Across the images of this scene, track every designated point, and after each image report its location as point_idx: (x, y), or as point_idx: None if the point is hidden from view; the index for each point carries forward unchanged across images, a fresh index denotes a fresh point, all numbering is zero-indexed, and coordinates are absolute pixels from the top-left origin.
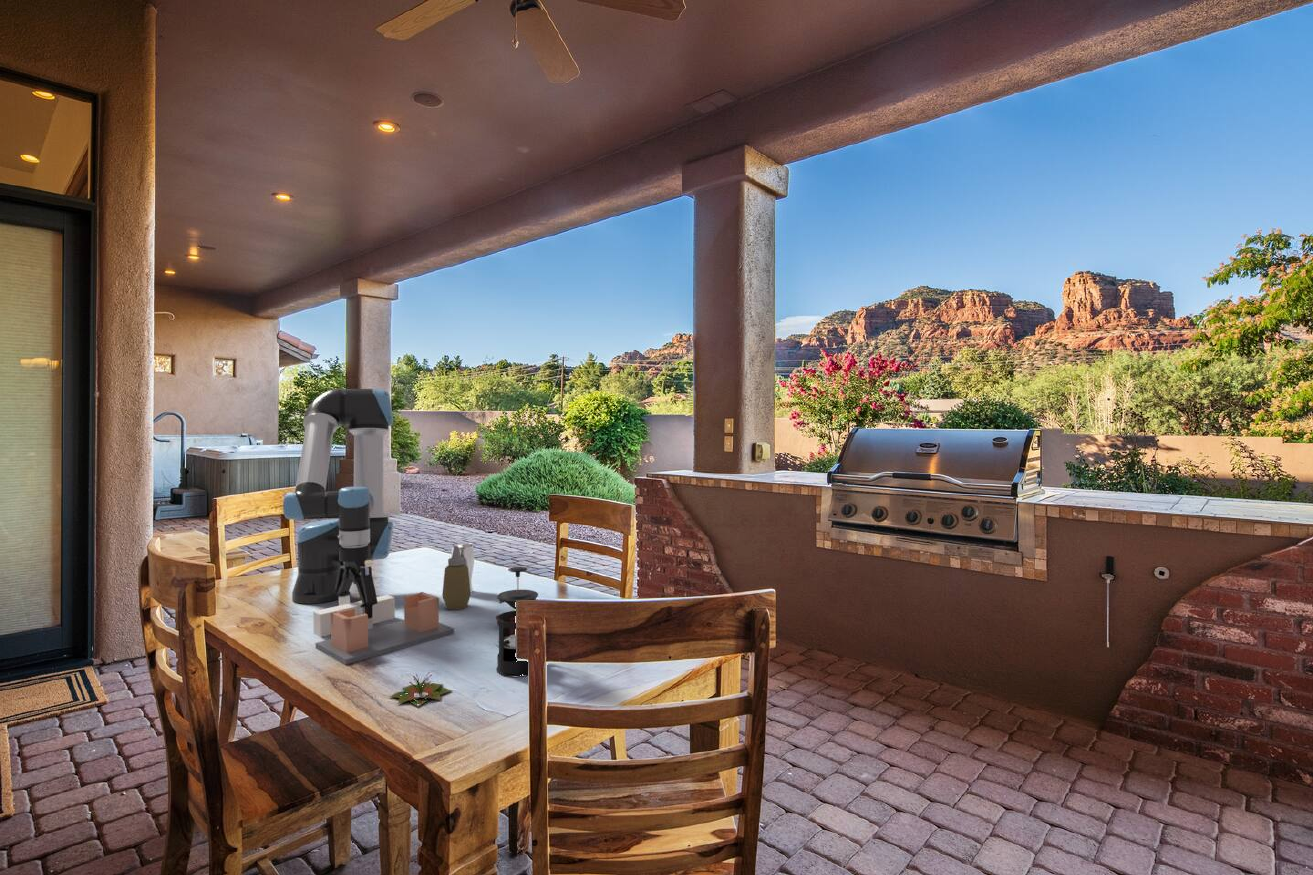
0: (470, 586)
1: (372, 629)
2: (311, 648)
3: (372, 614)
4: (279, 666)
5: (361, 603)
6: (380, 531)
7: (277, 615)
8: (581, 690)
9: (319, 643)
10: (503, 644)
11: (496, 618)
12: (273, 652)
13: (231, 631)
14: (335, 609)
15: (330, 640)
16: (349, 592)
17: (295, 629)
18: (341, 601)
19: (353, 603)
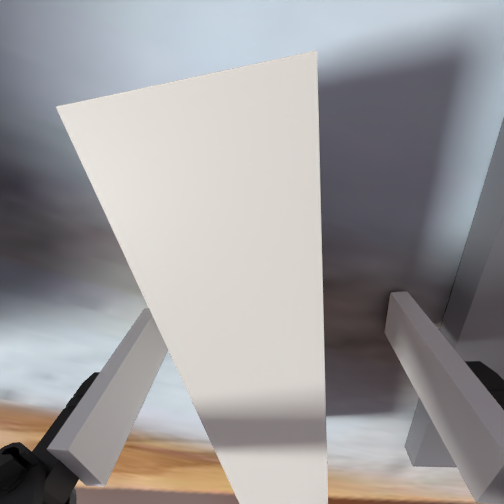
0: None
1: (483, 326)
2: (398, 450)
3: (464, 363)
4: (454, 501)
5: (276, 413)
6: None
7: (8, 420)
8: None
9: (431, 463)
10: None
11: None
12: (343, 486)
13: (120, 484)
14: (295, 502)
15: (437, 444)
16: (13, 462)
17: (182, 429)
18: (119, 441)
19: (236, 437)
